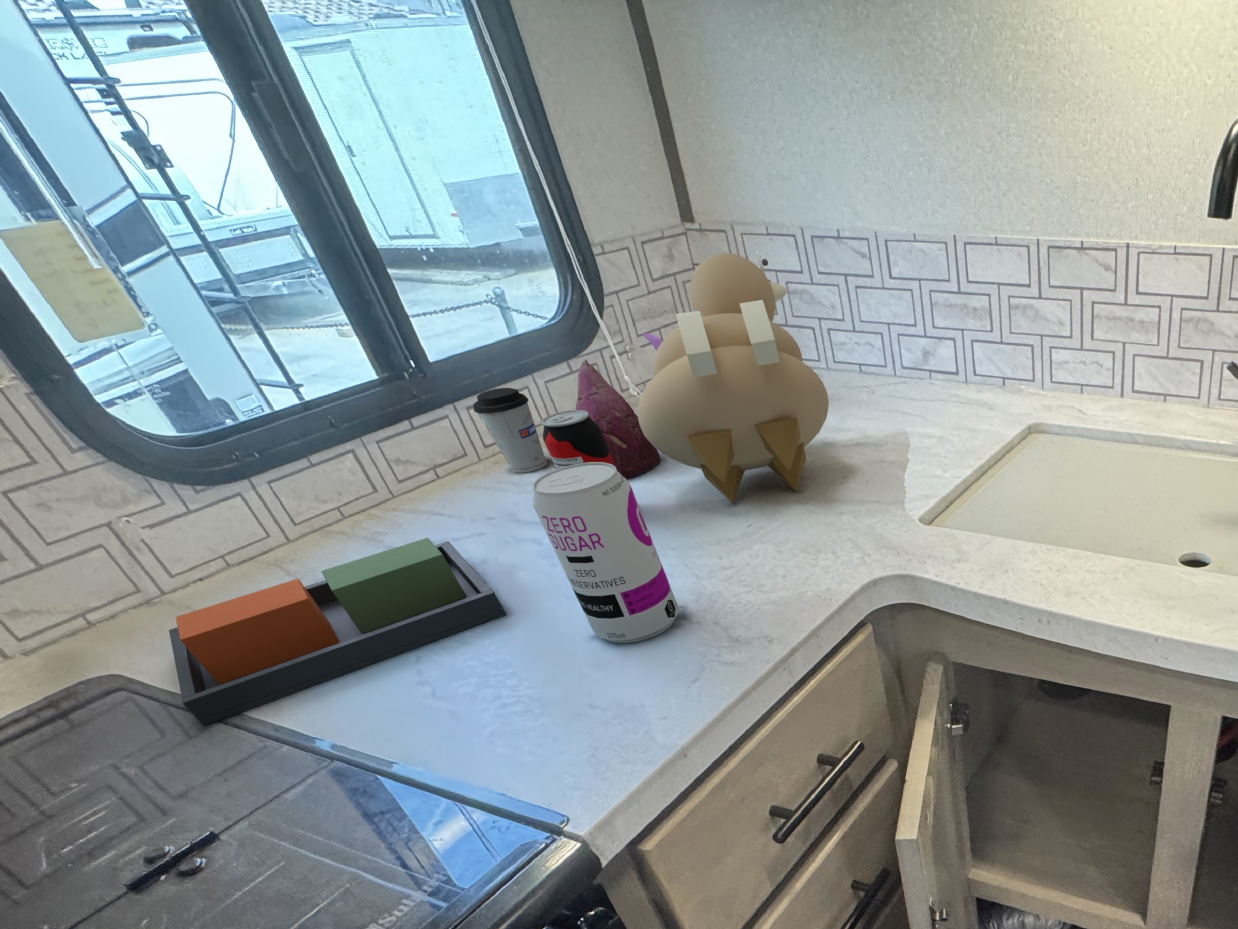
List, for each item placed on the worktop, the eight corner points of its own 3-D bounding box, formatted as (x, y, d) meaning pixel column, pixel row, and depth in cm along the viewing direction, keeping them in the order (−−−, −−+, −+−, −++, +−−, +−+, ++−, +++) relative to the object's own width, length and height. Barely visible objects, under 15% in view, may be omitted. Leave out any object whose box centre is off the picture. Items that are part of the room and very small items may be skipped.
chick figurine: (775, 162, 90) (551, 187, 85) (847, 415, 90) (629, 454, 86) (796, 322, 119) (631, 347, 114) (850, 512, 120) (688, 545, 115)
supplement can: (678, 597, 87) (622, 453, 77) (682, 634, 81) (622, 484, 72) (597, 615, 85) (529, 470, 76) (595, 654, 80) (521, 503, 70)
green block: (350, 614, 88) (320, 570, 84) (452, 579, 92) (427, 537, 89) (362, 634, 84) (331, 590, 81) (467, 597, 89) (442, 554, 86)
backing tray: (187, 651, 85) (168, 629, 83) (460, 561, 97) (448, 540, 95) (203, 726, 74) (182, 703, 73) (506, 614, 87) (494, 592, 85)
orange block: (213, 661, 82) (175, 616, 78) (329, 621, 87) (298, 578, 83) (219, 685, 78) (179, 639, 75) (340, 642, 83) (307, 598, 80)
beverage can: (642, 511, 105) (604, 412, 97) (599, 530, 101) (555, 429, 93) (612, 502, 108) (573, 405, 100) (569, 520, 104) (524, 422, 96)
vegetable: (604, 482, 122) (553, 371, 115) (672, 464, 122) (625, 352, 115) (578, 492, 113) (521, 372, 106) (652, 472, 113) (599, 351, 106)
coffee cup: (494, 477, 117) (458, 403, 111) (516, 459, 122) (482, 387, 116) (543, 474, 117) (509, 399, 110) (563, 455, 122) (532, 383, 116)
